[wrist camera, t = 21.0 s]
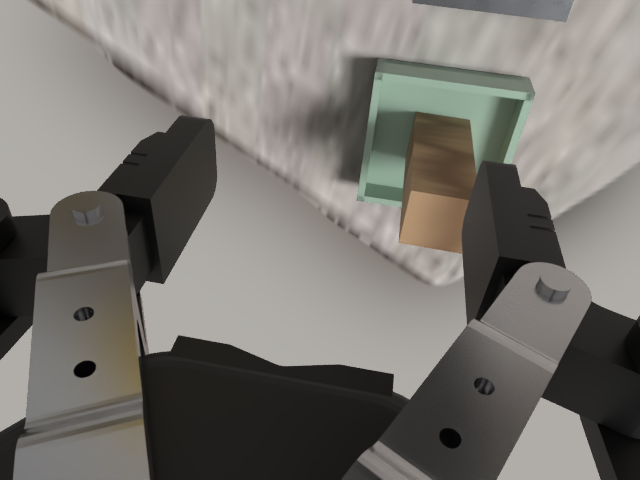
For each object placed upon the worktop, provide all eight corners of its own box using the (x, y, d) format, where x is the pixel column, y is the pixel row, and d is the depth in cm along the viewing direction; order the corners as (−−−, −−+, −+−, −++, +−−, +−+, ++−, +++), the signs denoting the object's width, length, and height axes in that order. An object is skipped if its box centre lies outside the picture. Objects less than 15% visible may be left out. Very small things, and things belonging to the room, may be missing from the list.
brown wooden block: (405, 158, 47) (398, 242, 38) (415, 111, 45) (411, 190, 35) (456, 166, 47) (461, 253, 38) (470, 119, 44) (479, 201, 35)
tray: (360, 182, 51) (356, 200, 48) (378, 57, 43) (375, 71, 41) (488, 202, 50) (490, 221, 47) (529, 78, 42) (535, 93, 40)
